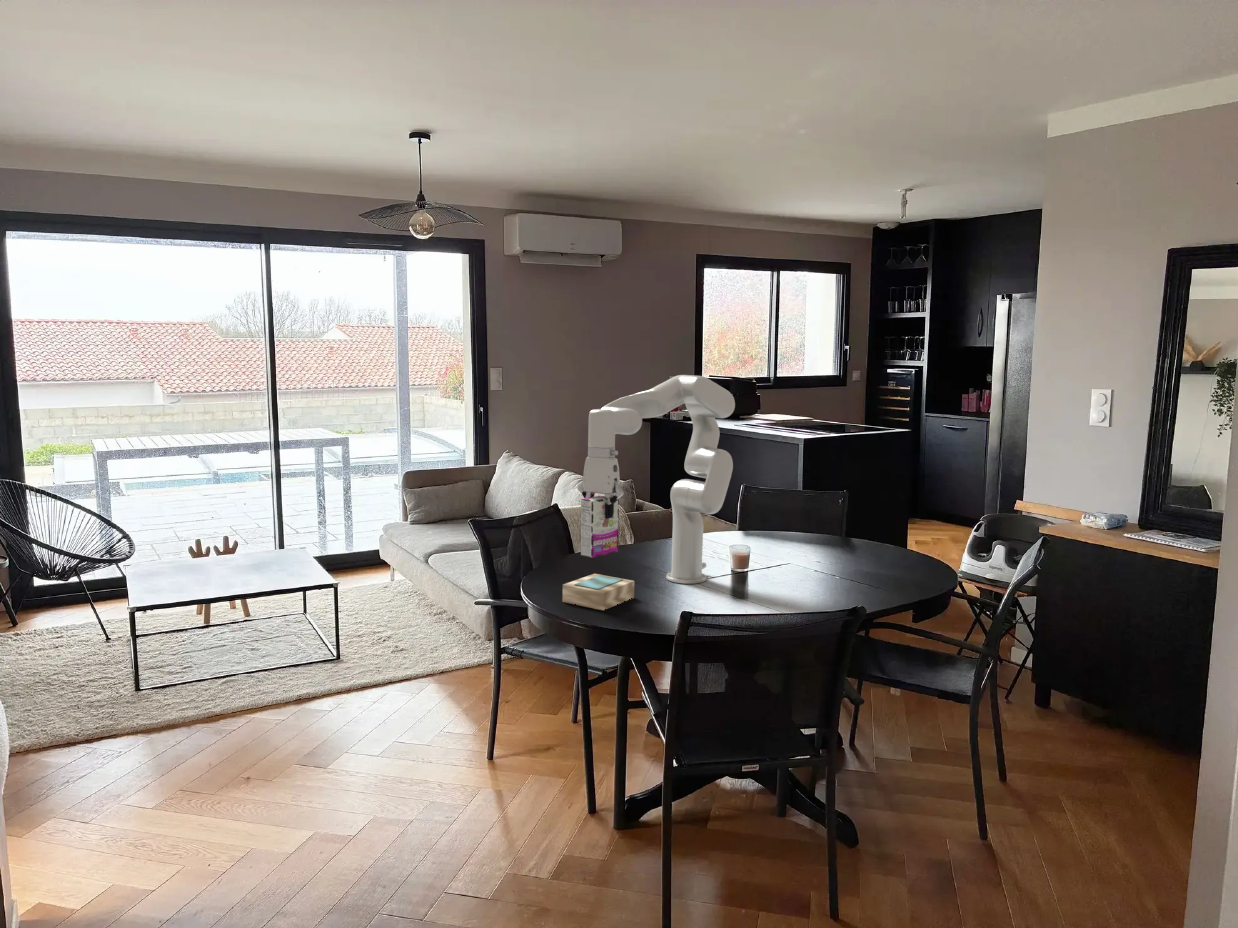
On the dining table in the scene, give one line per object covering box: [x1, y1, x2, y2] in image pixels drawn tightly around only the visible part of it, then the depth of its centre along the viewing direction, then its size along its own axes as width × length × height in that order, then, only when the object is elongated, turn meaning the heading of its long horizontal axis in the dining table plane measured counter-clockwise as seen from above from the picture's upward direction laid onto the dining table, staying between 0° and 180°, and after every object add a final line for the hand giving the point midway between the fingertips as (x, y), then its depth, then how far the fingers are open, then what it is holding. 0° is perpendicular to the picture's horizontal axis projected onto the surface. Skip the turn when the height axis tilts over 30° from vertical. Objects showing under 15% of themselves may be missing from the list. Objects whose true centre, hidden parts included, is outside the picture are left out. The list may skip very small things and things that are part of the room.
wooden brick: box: [561, 573, 635, 611], centre depth 264 cm, size 16×14×5 cm
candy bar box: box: [580, 494, 620, 559], centre depth 262 cm, size 11×5×16 cm, turn 138°
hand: (600, 515), depth 261 cm, fingers closed on candy bar box, 5 cm apart
